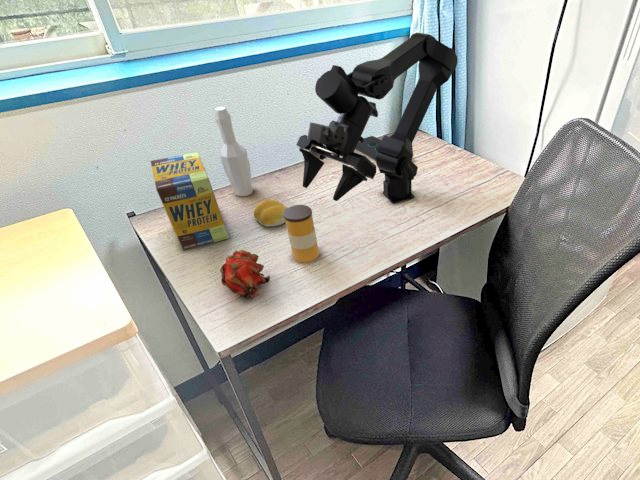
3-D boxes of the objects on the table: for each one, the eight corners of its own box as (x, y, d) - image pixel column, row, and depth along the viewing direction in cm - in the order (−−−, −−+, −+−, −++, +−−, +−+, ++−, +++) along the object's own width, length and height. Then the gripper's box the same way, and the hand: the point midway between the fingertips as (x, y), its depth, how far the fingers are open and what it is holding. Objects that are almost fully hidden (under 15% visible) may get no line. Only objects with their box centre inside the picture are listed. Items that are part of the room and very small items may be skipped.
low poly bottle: (239, 185, 120) (215, 103, 105) (260, 187, 119) (238, 104, 104) (228, 196, 115) (201, 112, 100) (249, 198, 114) (225, 114, 99)
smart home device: (372, 135, 140) (411, 155, 128) (373, 140, 141) (411, 161, 130) (351, 141, 137) (388, 163, 125) (352, 146, 138) (388, 168, 126)
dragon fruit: (246, 274, 93) (261, 314, 87) (206, 268, 87) (220, 310, 81) (263, 245, 90) (280, 284, 83) (223, 235, 84) (238, 277, 77)
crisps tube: (314, 244, 99) (306, 202, 91) (322, 258, 95) (315, 214, 87) (289, 251, 97) (279, 208, 89) (297, 265, 93) (287, 222, 85)
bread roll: (267, 232, 103) (263, 217, 100) (250, 217, 108) (246, 202, 105) (297, 219, 106) (294, 205, 104) (279, 205, 112) (276, 191, 109)
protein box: (183, 251, 97) (155, 189, 87) (174, 219, 107) (149, 160, 97) (229, 238, 101) (209, 177, 90) (217, 208, 111) (197, 150, 100)
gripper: (295, 94, 87) (263, 165, 88) (363, 114, 78) (327, 193, 79) (328, 122, 97) (299, 186, 98) (391, 143, 88) (359, 212, 89)
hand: (319, 193), depth 91 cm, fingers open, 9 cm apart
